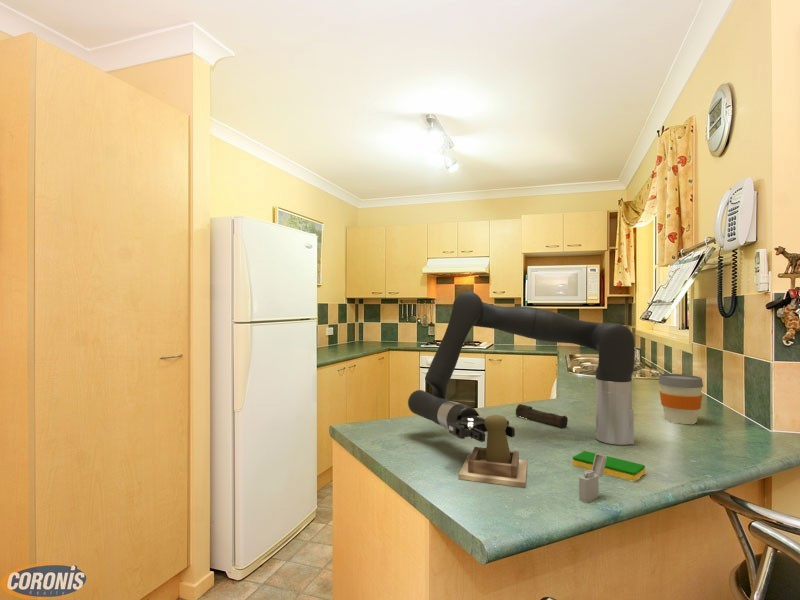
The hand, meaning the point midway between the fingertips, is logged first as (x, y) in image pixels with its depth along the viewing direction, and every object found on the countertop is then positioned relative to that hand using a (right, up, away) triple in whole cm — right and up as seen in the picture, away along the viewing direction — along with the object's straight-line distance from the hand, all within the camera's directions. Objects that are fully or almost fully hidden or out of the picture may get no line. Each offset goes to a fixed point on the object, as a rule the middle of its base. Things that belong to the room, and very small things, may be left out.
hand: (499, 435), depth 97 cm
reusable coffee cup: (+72, -10, +47) cm, 87 cm away
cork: (0, -8, +2) cm, 8 cm away
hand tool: (+24, -10, +45) cm, 52 cm away
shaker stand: (-1, -9, +1) cm, 9 cm away
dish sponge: (+26, -10, +3) cm, 28 cm away
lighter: (+16, -9, -12) cm, 22 cm away
